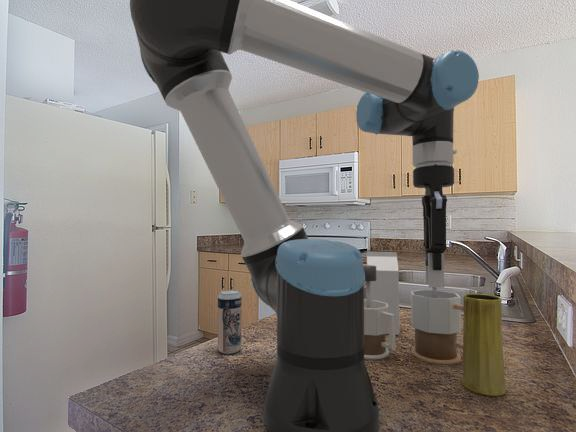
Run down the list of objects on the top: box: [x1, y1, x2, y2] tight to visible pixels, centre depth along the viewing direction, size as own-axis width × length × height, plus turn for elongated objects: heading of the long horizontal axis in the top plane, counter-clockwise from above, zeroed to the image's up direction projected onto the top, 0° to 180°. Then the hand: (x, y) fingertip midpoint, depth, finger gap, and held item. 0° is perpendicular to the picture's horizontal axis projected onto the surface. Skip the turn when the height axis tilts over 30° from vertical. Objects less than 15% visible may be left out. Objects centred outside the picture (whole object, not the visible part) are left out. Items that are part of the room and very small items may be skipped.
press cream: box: [363, 264, 396, 361], centre depth 68 cm, size 8×10×17 cm
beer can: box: [217, 289, 243, 355], centre depth 70 cm, size 5×5×12 cm
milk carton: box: [366, 251, 400, 336], centre depth 83 cm, size 7×7×19 cm
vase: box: [461, 292, 507, 397], centre depth 54 cm, size 6×6×14 cm
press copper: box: [410, 289, 464, 366], centre depth 66 cm, size 9×12×12 cm
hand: (434, 285), depth 67 cm, fingers closed on plunger, 3 cm apart
